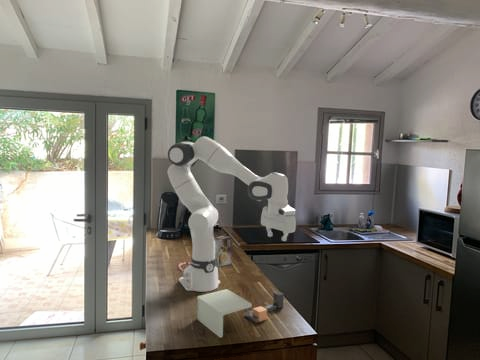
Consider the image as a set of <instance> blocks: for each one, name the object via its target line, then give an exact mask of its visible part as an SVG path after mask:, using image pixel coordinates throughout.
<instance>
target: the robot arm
mask: <svg viewBox="0 0 480 360" xmlns="http://www.w3.org/2000/svg"><path fill="white" fill-rule="evenodd" d="M167 158H168V161H169V162H170V163H171V164H170V166H169V167H168V169H167V171H166V172H167V176H168V179H169V181H170V184H171V186H172V187H173V190H174V191H175V193H176V195H177V197H178V199H179V200H180V203H182V205H184V206H185V207H186V208H187V209H188V211H189V212H190V213H191V214H190V216H189V218H188V222H187V223H188V228H189V231H190V235H191V242H192V249H191V250H192V257H191V256H190V259H189V260H190V262H189V263H190V265H189V264H188V266H187V267H186V268H184V269H183V270H184V272H182V276H181V277H179V279H178V282H179V283H180V284H181V286H182V287H183V288H184V289H185V290H186V291H189V292H190V291H193V292H194V291H195V292H200V293H201V292H211V291H214V290H217V289H218V287H219V285H220V284H221V280H219V271H218V270H219V267H218V266H216V258H215V240H214V237H215V236H214V226H215V225H216V224H217V222H218V221H219V211H218V209H217V208H216V207H214V205H213V204H212V203H211V201H210V200H209V198H207V197H206V195H205V194H204V193H203V191H202V189H201V187H200V185H199V184H198V182H197V181H196V179H195V177H194V175H193V173H192V172H191V168H192V167H194V166H195V165H196V163H197V162H198V161H199V160H200V161H203V162H204V163H205V164H206V165H207V166H208V167H210V168H211V169H213V170H215V171H216V172H218V173H222V174H229V175H232V176H235V177H236V178H238V179H239V180H240V181H242V182H243V183H244V184H246V185H247V194H248V196H249V198H250V199H251V200H253V201H257V202H261V201H266V200H267V205H265V206H264V207H262V212H261V214H260V215H261V217H260V224H261V226H263V227H265V229H266V232H267V237H269V238H271V237H273V236H274V235H273V233H274V232H272V229H273V230H274V229H275V230H278V231H281V232H282V233H283V236H281V238H280V239H281V241H283V242H286V241H287V240H288V239H287V238H288V236H289V234H292V233H294V232H295V231H296V229H297V228H296V227H297V220H296V208H293V207H291V206H290V204H289V200H288V194H289V181H288V177H287V176H286V175H285V174H284V173H281V172H270V173H269V174H268V175H266V176H259V175H257V174H255V173H254V172H253V171H252V170H250V169H249V168H247V167H246V166H245V165H244V164H242V163H241V162H240V161H239V160H238V159H237V158H236V157H235V156H234V155H232V153H231V152H230V151H228V150H227V148H226V147H224V146H223V145H222V144H220V143H218V141H215V140H213V139H212V138H210V137H209V136H204V135H203V136H200V137H199V138H197V139H196V141H181V142H177V143H174V144H172V145H171V146H170V148H168V150H167Z"/></svg>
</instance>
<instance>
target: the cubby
mask: <svg viewBox="0 0 480 360" xmlns="http://www.w3.org/2000/svg"><path fill="white" fill-rule="evenodd" d="M252 305H253V304H252V303H251V302H249V301H248V300H246V299H244V298H243V297H242V296H239V295H237V294H236V293H235V292H233V291H231V290H229V289H227V288H225V289H222V290H218V291H217V290H216V291H214V292H209V293H206V294H202V295H198V296H197V297H196V320H198V321H199V323H201V324H202V325H204V327H207V329H209V331H211V332H212V333H214V334H215V335H216V336H217V337H218V338H220V339H221V338H223V336H224V316H226V315H229V314H232V313H235V312H239V311H242V310H245V309H248V308H251V307H252Z"/></svg>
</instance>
